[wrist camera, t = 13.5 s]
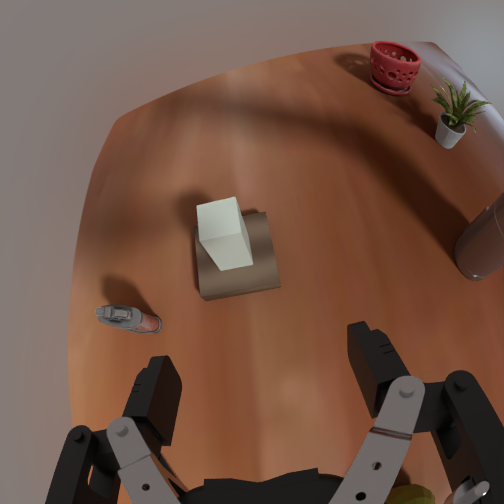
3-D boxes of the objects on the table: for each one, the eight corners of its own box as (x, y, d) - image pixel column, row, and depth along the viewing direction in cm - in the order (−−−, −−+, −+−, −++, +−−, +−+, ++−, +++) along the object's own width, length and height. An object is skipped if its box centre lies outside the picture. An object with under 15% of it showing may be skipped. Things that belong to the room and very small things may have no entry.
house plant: (455, 121, 54) (475, 75, 39) (479, 162, 48) (508, 116, 33) (412, 117, 55) (429, 64, 40) (435, 160, 50) (462, 106, 35)
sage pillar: (217, 241, 45) (196, 205, 35) (248, 235, 45) (235, 196, 35) (220, 270, 43) (199, 241, 33) (253, 264, 43) (241, 232, 33)
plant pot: (421, 96, 58) (431, 62, 47) (387, 103, 58) (396, 65, 47) (391, 70, 63) (397, 38, 52) (357, 76, 63) (361, 40, 52)
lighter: (121, 331, 45) (86, 321, 36) (123, 312, 46) (89, 299, 37) (161, 335, 44) (130, 326, 35) (163, 315, 45) (133, 302, 36)
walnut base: (199, 234, 50) (194, 226, 47) (266, 220, 49) (265, 211, 46) (206, 300, 45) (200, 296, 42) (280, 287, 44) (279, 281, 42)
